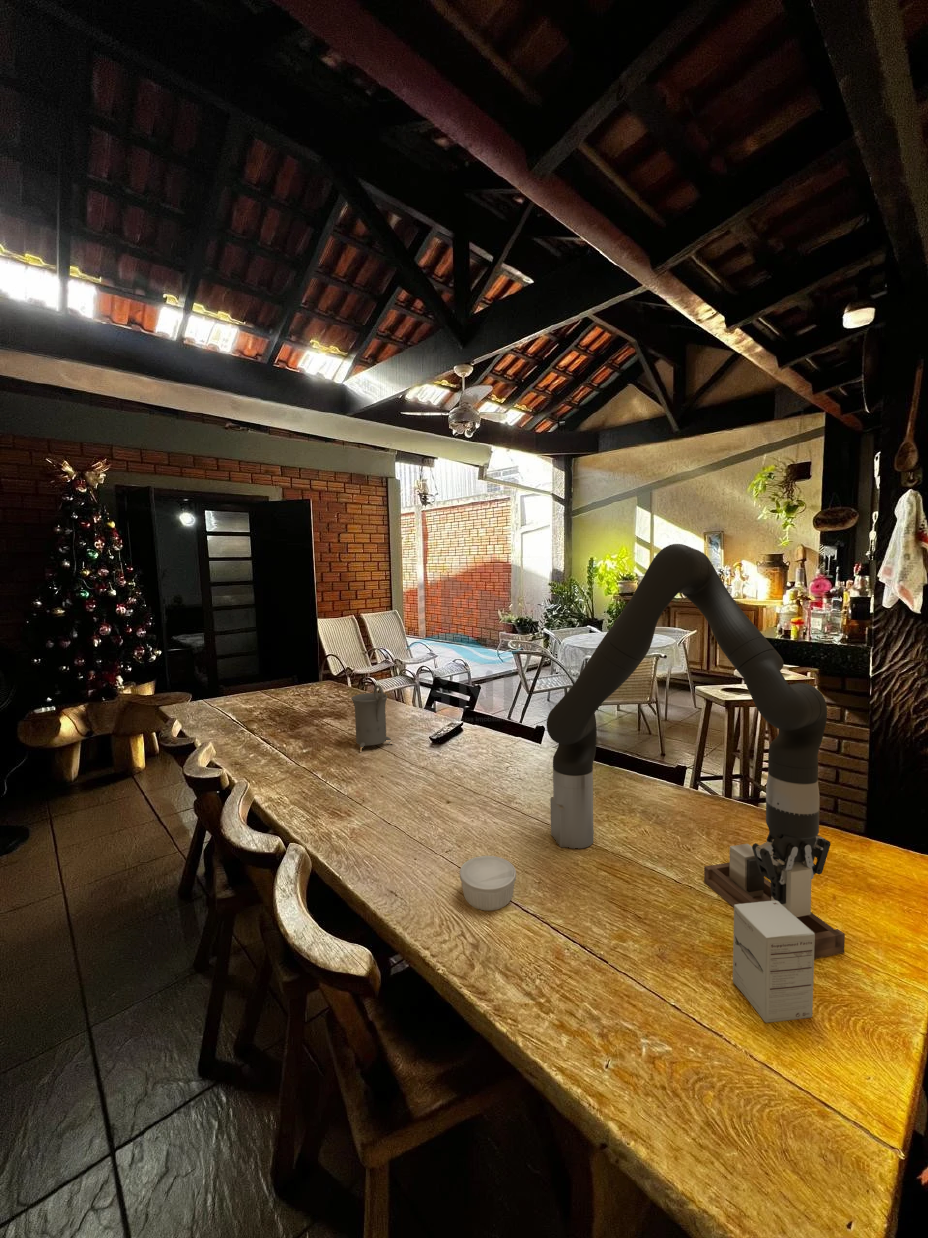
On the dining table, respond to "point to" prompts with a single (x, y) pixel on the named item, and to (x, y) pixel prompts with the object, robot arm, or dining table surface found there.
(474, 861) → the ramekin
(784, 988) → the supplement box
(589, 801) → the robot arm
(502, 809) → the dining table surface
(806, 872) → the grey upright block
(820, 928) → the rail
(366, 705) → the grey footed pot
